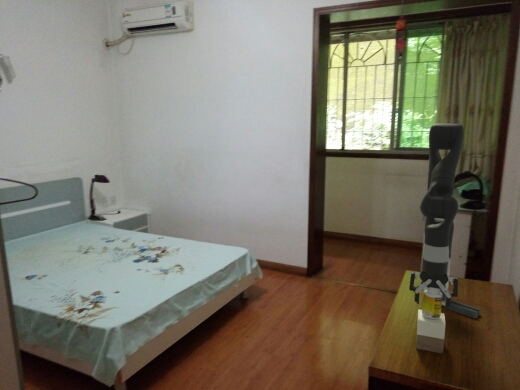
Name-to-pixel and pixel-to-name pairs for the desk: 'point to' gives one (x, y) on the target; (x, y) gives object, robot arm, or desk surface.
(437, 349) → the tower base
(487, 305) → the desk surface
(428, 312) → the supplement bottle
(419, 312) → the tower top
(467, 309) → the can opener
